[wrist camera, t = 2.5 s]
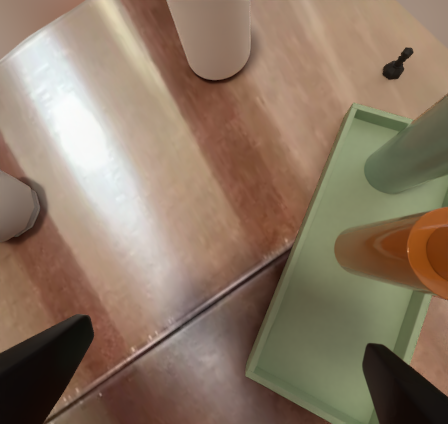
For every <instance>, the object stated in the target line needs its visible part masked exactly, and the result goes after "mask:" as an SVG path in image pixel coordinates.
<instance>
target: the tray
mask: <svg viewBox="0 0 448 424" xmlns="http://www.w3.org/2000/svg"><path fill="white" fill-rule="evenodd" d="M412 121H414V120H412V119H409V118H405V117H402V116H398V115H395V114H391V113H388V112H384V111H381V110H377V109H374V108H370V107H367V106H363V105H360V104H356V103H353V104H352V106H351V107H350V108H349V110H348V111H347V113H346V114H345V117H344V119H343V122H342V124H341V127H340V129H339V132H338V134H337V137H336V139H335V142H334V144H333V147H332V149H331V152H330V154H329V157H328V159H327V162H326V164H325V167H324V169H323V172H322V174H321V177H320V179H319V182H318V184H317V187H316V189H315V192H314V195H313V197H312V200H311V202H310V205H309V207H308V210H307V212H306V215H305V217H304V220H303V222H302V225H301V227H300V230H299V232H298V235H297V237H296V240H295V242H294V245H293V247H292V250H291V252H290V255H289V257H288V260H287V262H286V265H285V267H284V270H283V272H282V275H281V277H280V280H279V282H278V285H277V287H276V290H275V292H274V295H273V297H272V300H271V302H270V305H269V307H268V310H267V312H266V315H265V318H264V320H263V323H262V325H261V328H260V330H259V333H258V335H257V338H256V340H255V343H254V345H253V348H252V350H251V353H250V355H249V358H248V360H247V363H246V372H245V376H247V377H249V378H250V379H252V380H254V381H256V382H258V383H259V384H261V385H263V386H265V387H267V388H268V389H270V390H272V391H274V392H276V393H278V394H279V395H281V396H283V397H285V398H287V399H288V400H290V401H292V402H294V403H296V404H297V405H299V406H301V407H303V408H305V409H307V410H308V411H310V412H312V413H314V414H316V415H317V416H319V417H321V418H323V419H325V420H327V421H328V422H330V423H332V424H379V421H378V418H377V415H376V411H375V408H374V405H373V402H372V399H371V396H370V393H369V389H368V386H367V383H366V380H365V377H364V374H363V369H362V361H363V357H364V352H365V348H366V345H367V344H368V343H377V344H383V345H385V346H386V347H388V348H389V349H390V350H391V351H392V352H394V353H395V354H396V355H397V356H398V357H400V358H401V359H402V360H403V361H405V362H406V363H407V364H408V365H410V362H411V359H412V356H413V353H414V350H415V346H416V343H417V340H418V337H419V334H420V331H421V328H422V325H423V322H424V319H425V316H426V313H427V310H428V307H429V304H430V300H431V297H432V296H430V295H426V294H423V293H419V292H415V291H412V290H408V289H404V288H400V287H397V286H393V285H389V284H385V283H382V282H378V281H374V280H370V279H367V278H363V277H359V276H356V275H353V274H350V273H349V272H347V271H346V270H344V269H343V268H342V267H341V266H340V264H339V263H338V261H337V259H336V257H335V253H334V245H335V241H336V239H337V237H338V236H339V234H340V233H341V232H342V231H344V230H345V229H347V228H350V227H353V226H358V225H363V224H367V223H372V222H377V221H381V220H386V219H391V218H395V217H400V216H405V215H409V214H414V213H419V212H423V211H428V210H433V209H437V208H442V207H448V175H446V176H444V177H441V178H438V179H436V180H433V181H430V182H428V183H425V184H422V185H420V186H417V187H414V188H412V189H409V190H406V191H404V192H401V193H397V194H388V193H383V192H380V191H378V190H376V189H375V188H374V187H372V186H371V185H370V184H369V182H368V181H367V179H366V177H365V173H364V166H365V162H366V160H367V158H368V157H369V156H370V155H371V154H372V153H373V152H374V151H376V150H377V149H378V148H380V147H381V146H382V145H383V144H385V143H386V142H387V141H388V140H390V139H391V138H392V137H393V136H395V135H396V134H397V133H398V132H400V131H401V130H402V129H403V128H405V127H406V126H407V125H409V124H410V123H411V122H412Z"/></svg>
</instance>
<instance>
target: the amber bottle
mask: <svg viewBox="0 0 448 424" xmlns="http://www.w3.org/2000/svg"><path fill="white" fill-rule="evenodd" d="M334 253H335V257H336V259H337V261H338V263H339V264H340V266H341V267H342V268H343V269H344V270H346V271H347V272H349V273H350V274H353V275H356V276H359V277H363V278H367V279H370V280H374V281H378V282H382V283H385V284H389V285H393V286H397V287H400V288H404V289H408V290H412V291H415V292H419V293H423V294H426V295H430V296H434V297H438V298H441V299H445V300H448V207H442V208H437V209H433V210H428V211H423V212H419V213H414V214H409V215H405V216H400V217H395V218H391V219H386V220H381V221H377V222H372V223H367V224H363V225H358V226H353V227H350V228H347V229H345V230H344V231H342V232H341V233H340V234H339V236H338V237H337V239H336V241H335V245H334Z"/></svg>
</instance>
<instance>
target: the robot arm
mask: <svg viewBox="0 0 448 424" xmlns="http://www.w3.org/2000/svg"><path fill="white" fill-rule="evenodd" d="M93 337H94V331H93V327H92V322H91V318H90V316H89V315H83V314H76V315H74V316H72V317H70V318H68V319H66V320H64V321H62V322H60V323H58V324H56V325H54V326H52V327H51V328H49V329H47V330H45V331H43V332H41V333H39V334H37V335H35V336H33V337H31V338H29V339H27V340H25V341H23V342H21V343H19V344H17V345H15V346H13V347H12V348H10V349H8V350H6V351H4V352H2V353H0V424H43V423H44V421H45V420H46V418H47V417H48V415H49V413H50V412H51V410H52V409H53V407H54V406H55V404H56V403H57V401H58V400H59V398H60V397H61V395H62V394H63V392H64V390H65V389H66V387H67V385H68V384H69V382H70V380H71V378H72V377H73V375H74V373H75V371H76V369H77V368H78V366H79V364H80V362H81V360H82V359H83V357H84V355H85V353H86V351H87V350H88V348H89V346H90V344H91V343H92V340H93ZM362 369H363V374H364V377H365V380H366V383H367V386H368V389H369V393H370V396H371V399H372V402H373V405H374V408H375V411H376V415H377V418H378V421H379V424H448V397H447V396H446V395H445V394H443V393H442V392H441V391H440V390H439V389H437V388H436V387H435V386H434V385H433V384H431V383H430V382H429V381H428V380H426V379H425V378H424V377H423V376H422V375H420V374H419V373H418V372H417V371H416V370H414V369H413V368H412V367H411V366H409V365H408V364H407V363H406V362H405V361H403V360H402V359H401V358H400V357H398V356H397V355H396V354H395V353H394V352H392V351H391V350H390V349H389V348H388V347H386V346H385V345H383V344H377V343H368V344H367V345H366V348H365V352H364V357H363V361H362Z"/></svg>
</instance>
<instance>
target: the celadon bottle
mask: <svg viewBox="0 0 448 424" xmlns="http://www.w3.org/2000/svg"><path fill="white" fill-rule="evenodd" d="M364 173H365V177H366V179H367V181H368V182H369V184H370V185H371V186H372V187H374V188H375V189H376V190H378V191H380V192H383V193H388V194H397V193H401V192H404V191H406V190H409V189H412V188H414V187H417V186H420V185H422V184H425V183H428V182H430V181H433V180H436V179H438V178H441V177H444V176H446V175H448V94H446V95H445V96H444V97H443V98H441V99H440V100H439V101H438V102H436V103H435V104H434V105H432V106H431V107H430V108H429V109H427V110H426V111H425V112H424V113H422V114H421V115H420V116H419V117H417V118H416V119H415V120H414V121H412V122H411V123H410V124H409V125H407V126H406V127H405V128H403V129H402V130H401V131H400V132H398V133H397V134H396V135H395V136H393V137H392V138H391V139H390V140H388V141H387V142H386V143H385V144H383V145H382V146H381V147H380V148H378V149H377V150H376V151H374V152H373V153H372V154H371V155H370V156H369V157H368V158H367V160H366V162H365V166H364Z"/></svg>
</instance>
